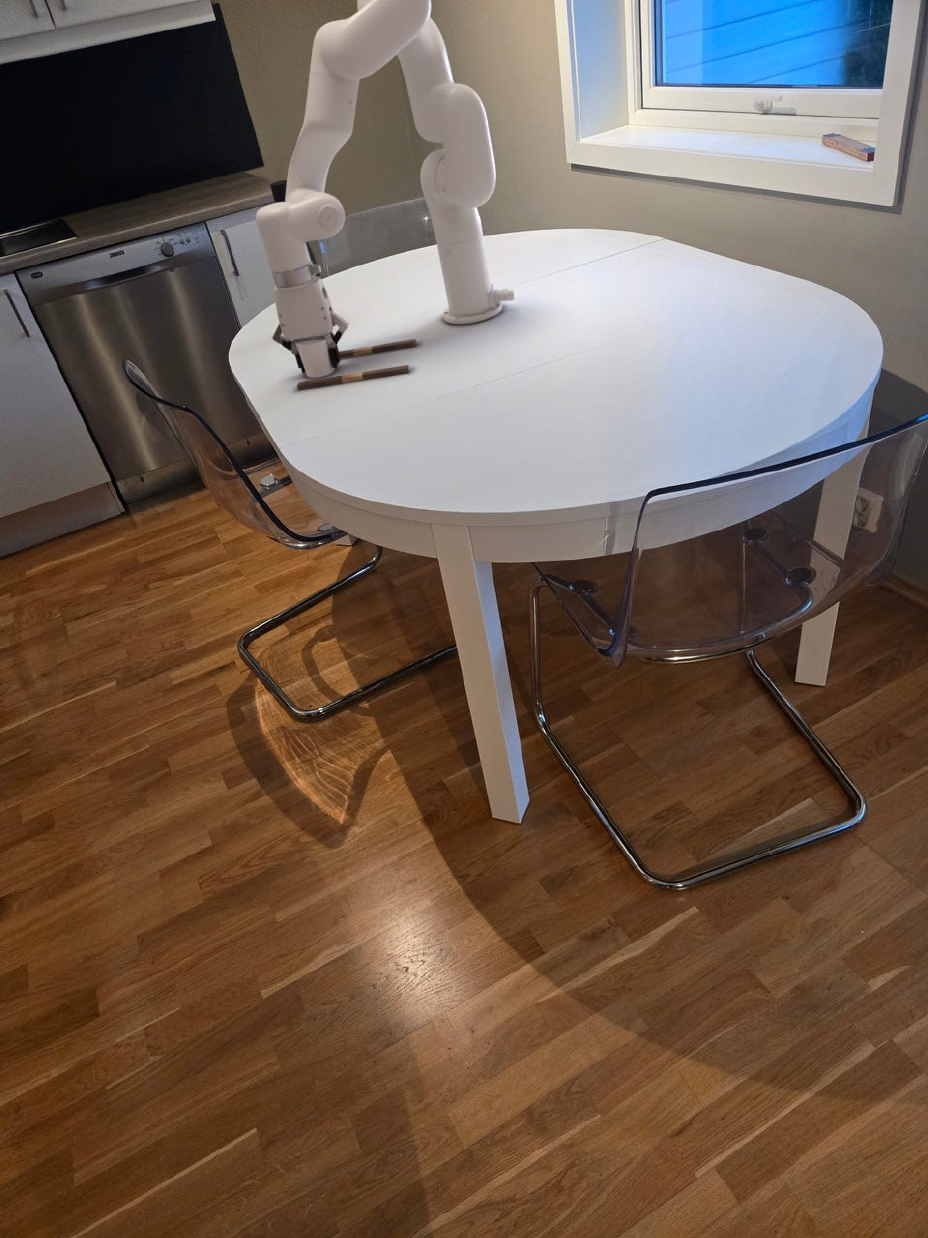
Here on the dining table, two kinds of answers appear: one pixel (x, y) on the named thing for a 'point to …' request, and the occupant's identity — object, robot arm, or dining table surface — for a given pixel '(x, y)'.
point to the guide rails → (363, 375)
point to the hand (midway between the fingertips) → (320, 367)
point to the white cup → (315, 356)
